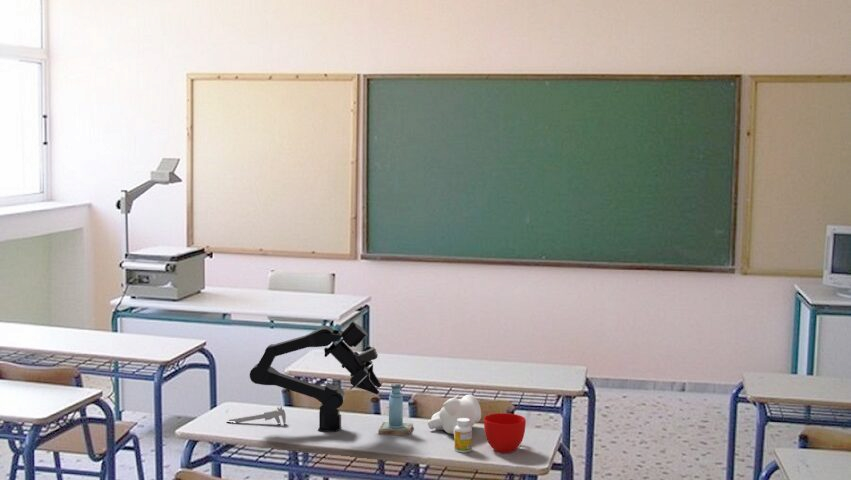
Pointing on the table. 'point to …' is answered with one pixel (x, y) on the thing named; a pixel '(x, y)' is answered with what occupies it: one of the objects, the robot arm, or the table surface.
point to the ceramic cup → (504, 431)
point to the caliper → (264, 416)
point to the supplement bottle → (463, 435)
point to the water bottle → (395, 407)
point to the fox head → (456, 413)
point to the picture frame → (395, 429)
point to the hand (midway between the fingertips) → (379, 389)
